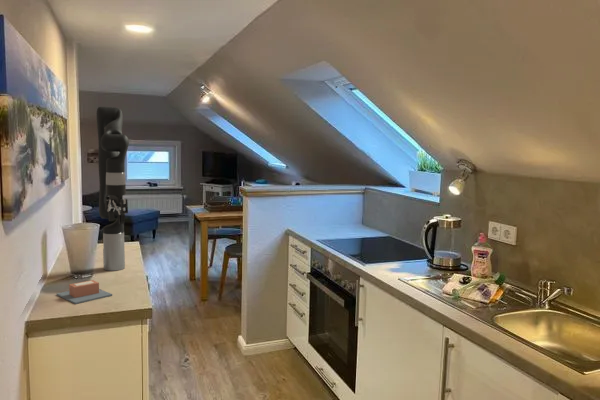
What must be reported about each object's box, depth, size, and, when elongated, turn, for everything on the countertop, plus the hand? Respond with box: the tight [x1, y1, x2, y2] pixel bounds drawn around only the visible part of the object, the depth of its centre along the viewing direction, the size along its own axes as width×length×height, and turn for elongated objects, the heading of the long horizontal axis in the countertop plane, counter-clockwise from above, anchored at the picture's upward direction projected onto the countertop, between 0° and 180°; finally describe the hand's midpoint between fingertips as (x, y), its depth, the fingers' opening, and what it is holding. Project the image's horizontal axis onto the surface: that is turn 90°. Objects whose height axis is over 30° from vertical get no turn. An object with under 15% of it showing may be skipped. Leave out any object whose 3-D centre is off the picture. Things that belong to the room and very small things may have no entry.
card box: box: [68, 279, 100, 298], centre depth 179 cm, size 9×6×4 cm, turn 135°
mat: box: [55, 288, 113, 305], centre depth 180 cm, size 16×14×1 cm
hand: (116, 222), depth 194 cm, fingers open, 8 cm apart
